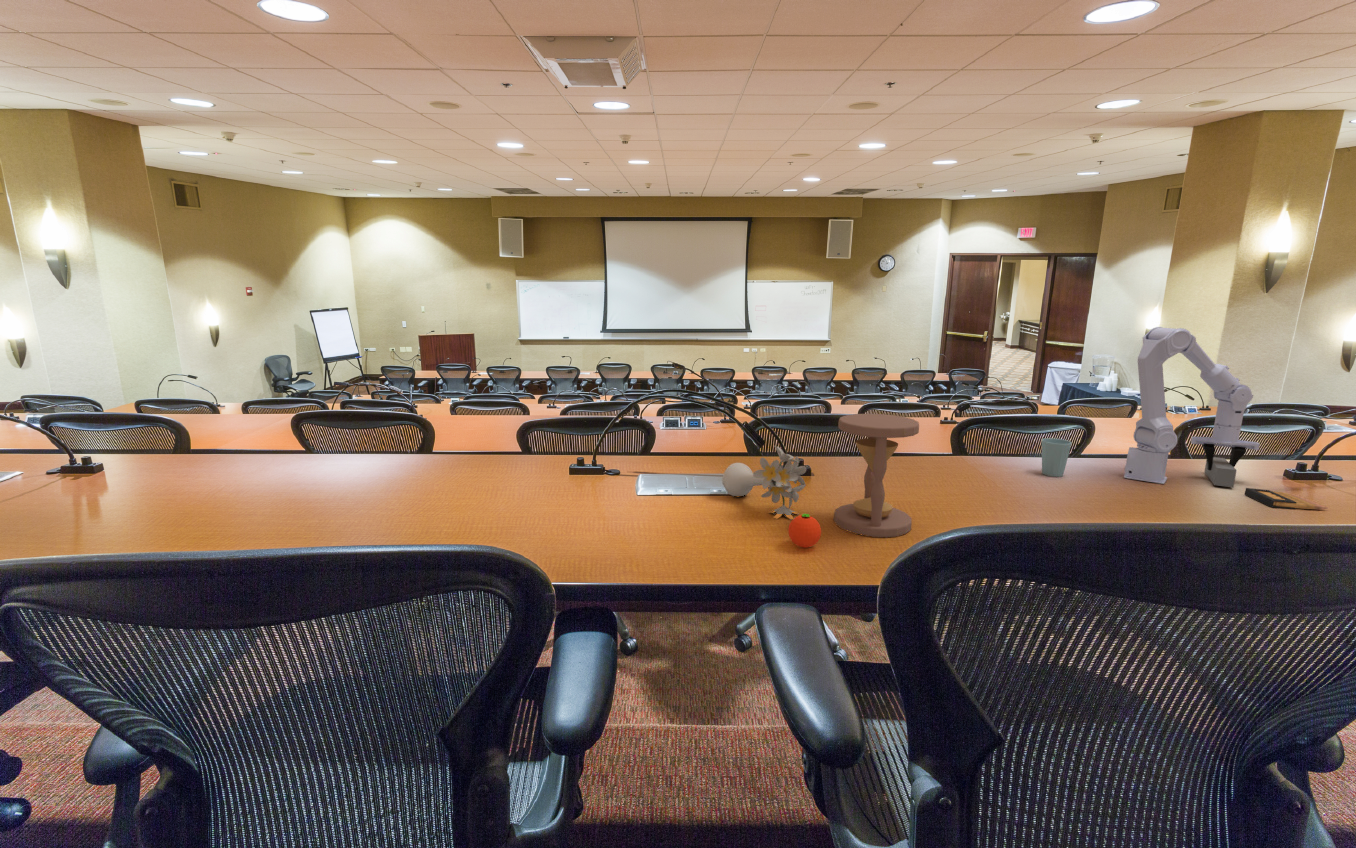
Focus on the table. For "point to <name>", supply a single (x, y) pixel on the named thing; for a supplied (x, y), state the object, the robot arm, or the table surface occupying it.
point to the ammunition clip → (1282, 499)
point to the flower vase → (767, 479)
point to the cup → (1054, 456)
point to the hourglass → (875, 475)
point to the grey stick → (1221, 472)
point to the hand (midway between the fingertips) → (1219, 470)
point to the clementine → (804, 531)
